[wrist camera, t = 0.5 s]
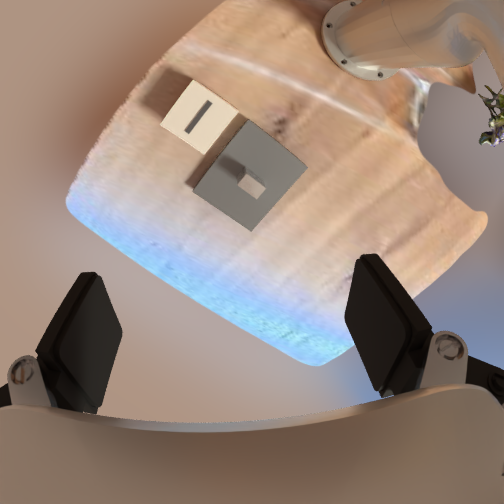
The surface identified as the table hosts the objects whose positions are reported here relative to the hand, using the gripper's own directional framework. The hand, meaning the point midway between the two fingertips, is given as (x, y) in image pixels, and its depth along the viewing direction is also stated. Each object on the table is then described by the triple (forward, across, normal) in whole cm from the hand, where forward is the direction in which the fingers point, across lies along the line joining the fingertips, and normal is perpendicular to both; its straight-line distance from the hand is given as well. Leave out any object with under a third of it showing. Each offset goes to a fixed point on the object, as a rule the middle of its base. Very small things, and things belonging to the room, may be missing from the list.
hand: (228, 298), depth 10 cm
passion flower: (+29, -45, -10) cm, 55 cm away
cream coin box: (+30, +3, -5) cm, 30 cm away
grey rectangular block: (+28, -3, +4) cm, 29 cm away
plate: (+30, -3, +4) cm, 30 cm away
